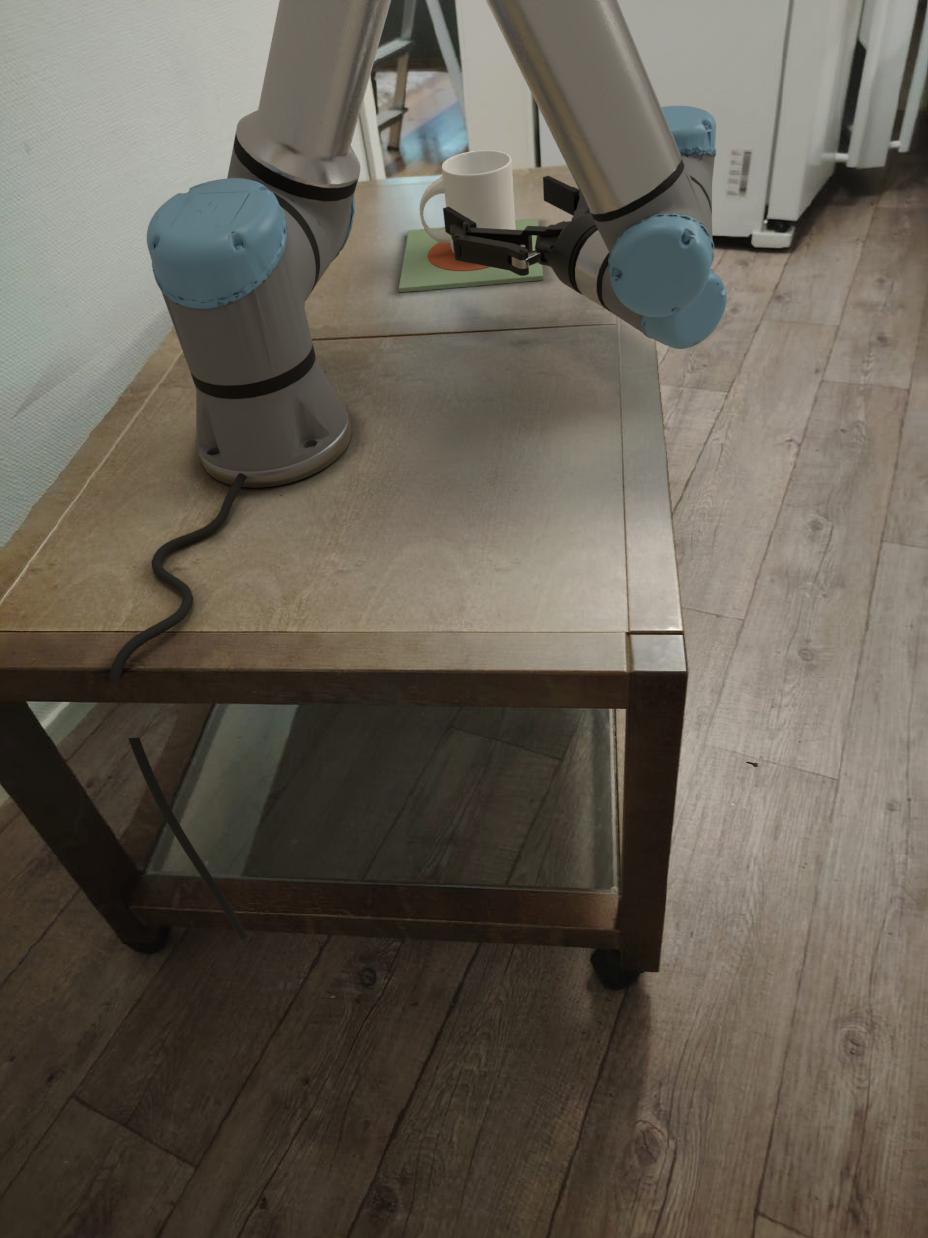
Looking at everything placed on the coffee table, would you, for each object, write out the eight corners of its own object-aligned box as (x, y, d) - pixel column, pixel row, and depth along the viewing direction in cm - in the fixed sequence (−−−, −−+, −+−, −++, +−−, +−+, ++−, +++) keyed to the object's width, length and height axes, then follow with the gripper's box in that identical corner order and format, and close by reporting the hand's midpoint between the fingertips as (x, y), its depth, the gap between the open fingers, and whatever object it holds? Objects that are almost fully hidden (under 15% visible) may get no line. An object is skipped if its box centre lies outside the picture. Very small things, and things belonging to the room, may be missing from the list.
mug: (424, 243, 120) (413, 158, 112) (513, 232, 120) (508, 145, 112) (426, 270, 114) (414, 182, 106) (520, 258, 114) (514, 169, 106)
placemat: (543, 280, 110) (543, 274, 110) (399, 292, 112) (398, 287, 111) (538, 222, 123) (538, 217, 122) (408, 234, 124) (408, 229, 124)
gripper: (500, 333, 91) (408, 265, 105) (695, 262, 98) (585, 207, 112) (494, 260, 85) (398, 198, 99) (701, 190, 93) (585, 142, 106)
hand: (497, 203), depth 106 cm, fingers open, 13 cm apart
